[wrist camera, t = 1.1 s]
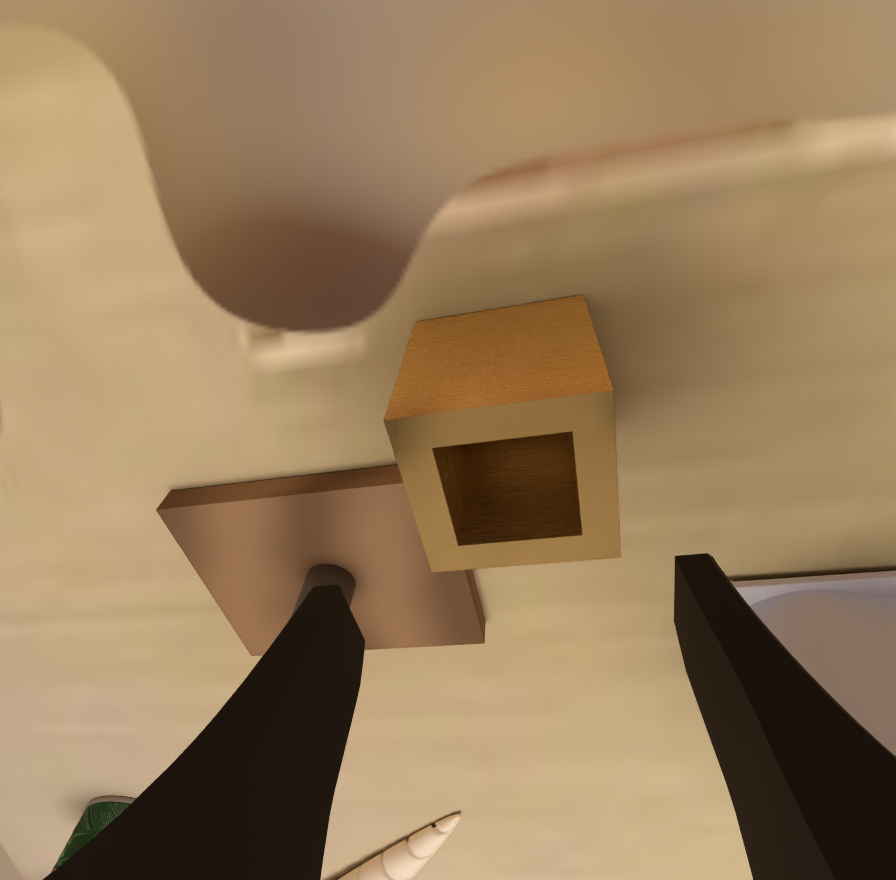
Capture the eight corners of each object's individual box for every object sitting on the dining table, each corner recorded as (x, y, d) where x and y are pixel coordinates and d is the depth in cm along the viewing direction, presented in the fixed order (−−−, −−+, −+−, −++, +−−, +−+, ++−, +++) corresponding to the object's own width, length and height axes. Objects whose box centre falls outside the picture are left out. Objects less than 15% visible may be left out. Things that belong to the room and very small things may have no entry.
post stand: (443, 459, 22) (432, 532, 19) (485, 622, 27) (482, 699, 24) (170, 491, 24) (117, 560, 21) (259, 635, 30) (229, 708, 26)
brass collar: (583, 294, 18) (613, 390, 13) (593, 436, 21) (621, 557, 16) (414, 322, 19) (383, 420, 14) (448, 453, 22) (431, 572, 17)
